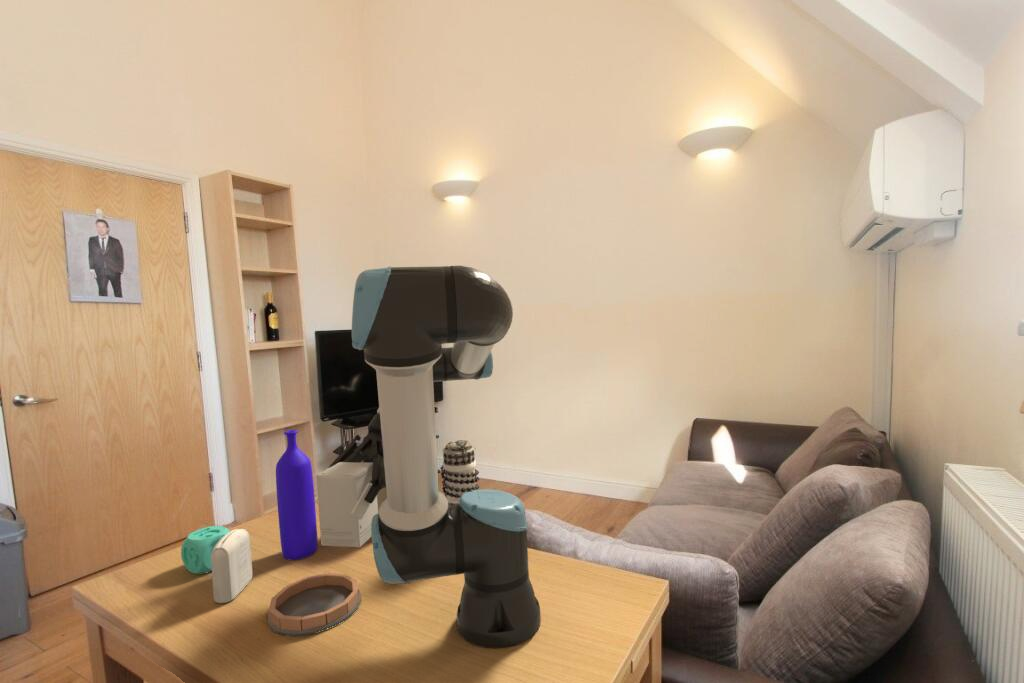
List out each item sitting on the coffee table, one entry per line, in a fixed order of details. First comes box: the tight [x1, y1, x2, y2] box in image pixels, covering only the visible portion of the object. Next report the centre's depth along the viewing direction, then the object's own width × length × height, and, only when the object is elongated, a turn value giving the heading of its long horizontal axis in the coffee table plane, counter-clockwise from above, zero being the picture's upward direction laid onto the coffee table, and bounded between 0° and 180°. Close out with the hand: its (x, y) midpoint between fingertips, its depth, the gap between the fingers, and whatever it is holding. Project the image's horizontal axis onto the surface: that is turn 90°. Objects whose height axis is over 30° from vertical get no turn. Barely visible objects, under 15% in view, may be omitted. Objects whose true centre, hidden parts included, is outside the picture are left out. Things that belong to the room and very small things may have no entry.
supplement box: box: [315, 462, 378, 548], centre depth 107 cm, size 9×9×15 cm
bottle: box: [275, 429, 318, 561], centre depth 123 cm, size 8×8×30 cm
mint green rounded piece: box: [180, 525, 230, 575], centre depth 119 cm, size 8×8×8 cm
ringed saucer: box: [267, 572, 362, 637], centre depth 99 cm, size 17×17×3 cm
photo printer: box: [211, 528, 254, 604], centre depth 107 cm, size 10×4×12 cm, turn 3°
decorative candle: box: [440, 440, 480, 505], centre depth 124 cm, size 9×9×25 cm
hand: (337, 510), depth 105 cm, fingers closed on supplement box, 11 cm apart
